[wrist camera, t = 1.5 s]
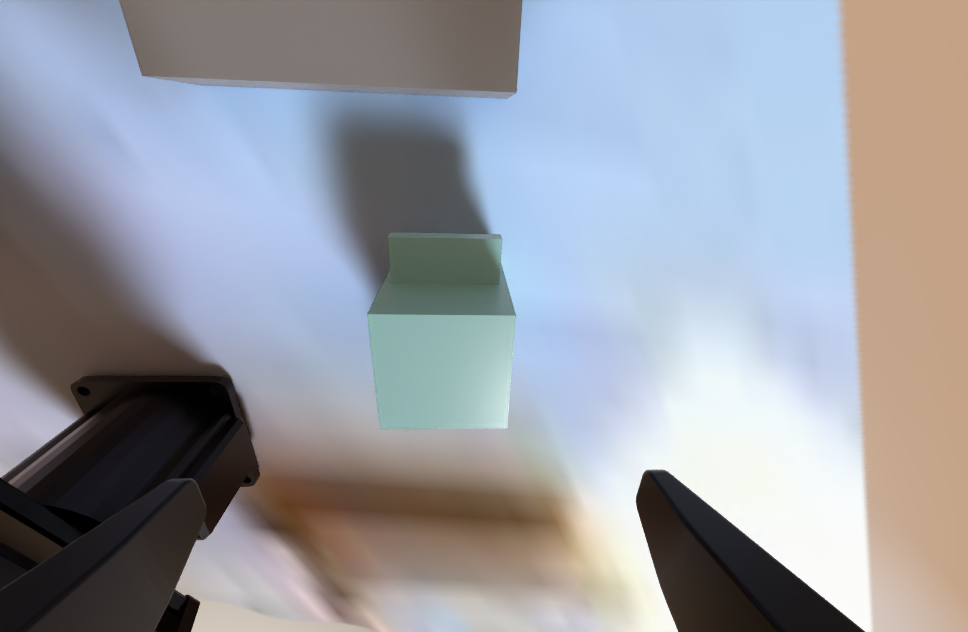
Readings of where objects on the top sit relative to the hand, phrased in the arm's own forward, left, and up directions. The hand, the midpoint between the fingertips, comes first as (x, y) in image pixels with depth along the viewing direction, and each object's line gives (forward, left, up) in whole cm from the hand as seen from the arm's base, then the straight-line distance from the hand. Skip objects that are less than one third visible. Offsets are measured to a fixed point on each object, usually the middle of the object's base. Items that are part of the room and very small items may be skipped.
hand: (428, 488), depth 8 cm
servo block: (0, 0, -9) cm, 9 cm away
